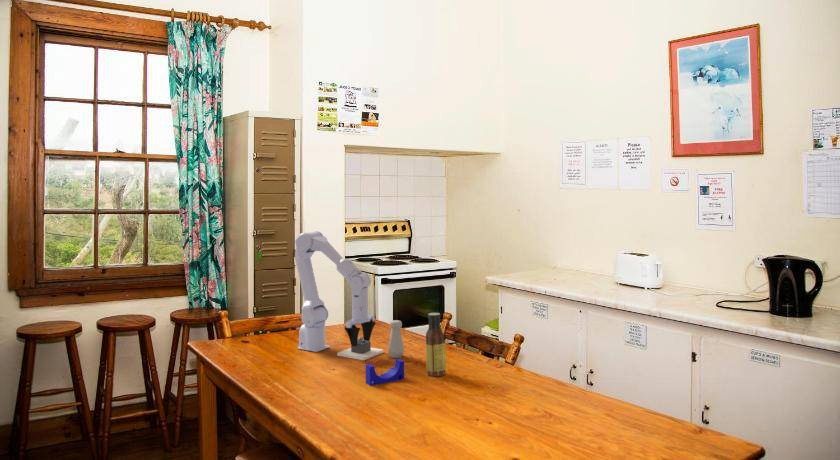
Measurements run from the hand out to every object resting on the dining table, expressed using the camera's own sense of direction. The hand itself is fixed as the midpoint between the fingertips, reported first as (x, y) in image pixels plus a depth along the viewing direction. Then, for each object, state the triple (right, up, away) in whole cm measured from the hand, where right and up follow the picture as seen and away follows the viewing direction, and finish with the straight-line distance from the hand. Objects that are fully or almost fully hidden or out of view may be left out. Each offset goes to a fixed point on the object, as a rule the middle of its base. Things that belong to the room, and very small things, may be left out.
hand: (360, 343), depth 208 cm
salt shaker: (+13, -4, -3) cm, 14 cm away
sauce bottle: (+27, -6, -23) cm, 36 cm away
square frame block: (0, -3, 0) cm, 3 cm away
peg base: (0, -4, 0) cm, 4 cm away
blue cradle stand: (+10, -6, -29) cm, 31 cm away
